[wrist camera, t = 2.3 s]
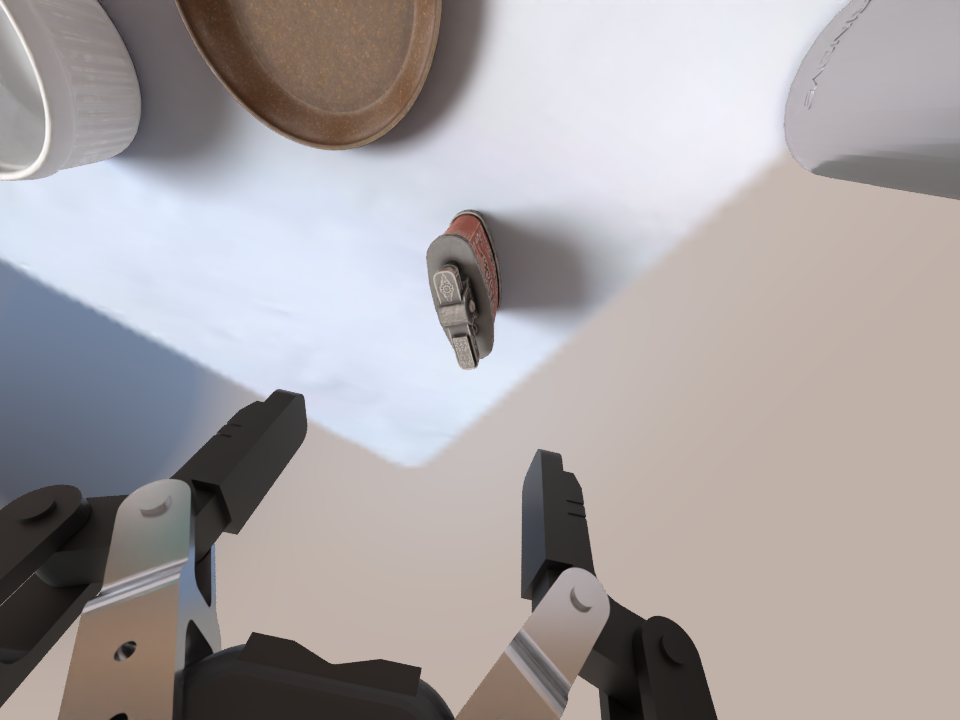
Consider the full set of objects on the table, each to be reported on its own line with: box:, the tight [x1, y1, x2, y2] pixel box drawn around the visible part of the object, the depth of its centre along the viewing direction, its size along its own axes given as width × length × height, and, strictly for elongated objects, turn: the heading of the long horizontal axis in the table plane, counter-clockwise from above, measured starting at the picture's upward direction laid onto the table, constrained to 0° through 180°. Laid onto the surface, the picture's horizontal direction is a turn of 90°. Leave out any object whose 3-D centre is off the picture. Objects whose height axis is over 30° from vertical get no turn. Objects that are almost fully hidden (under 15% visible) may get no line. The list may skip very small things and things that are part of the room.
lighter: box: [426, 210, 501, 370], centre depth 23 cm, size 8×3×10 cm, turn 13°
